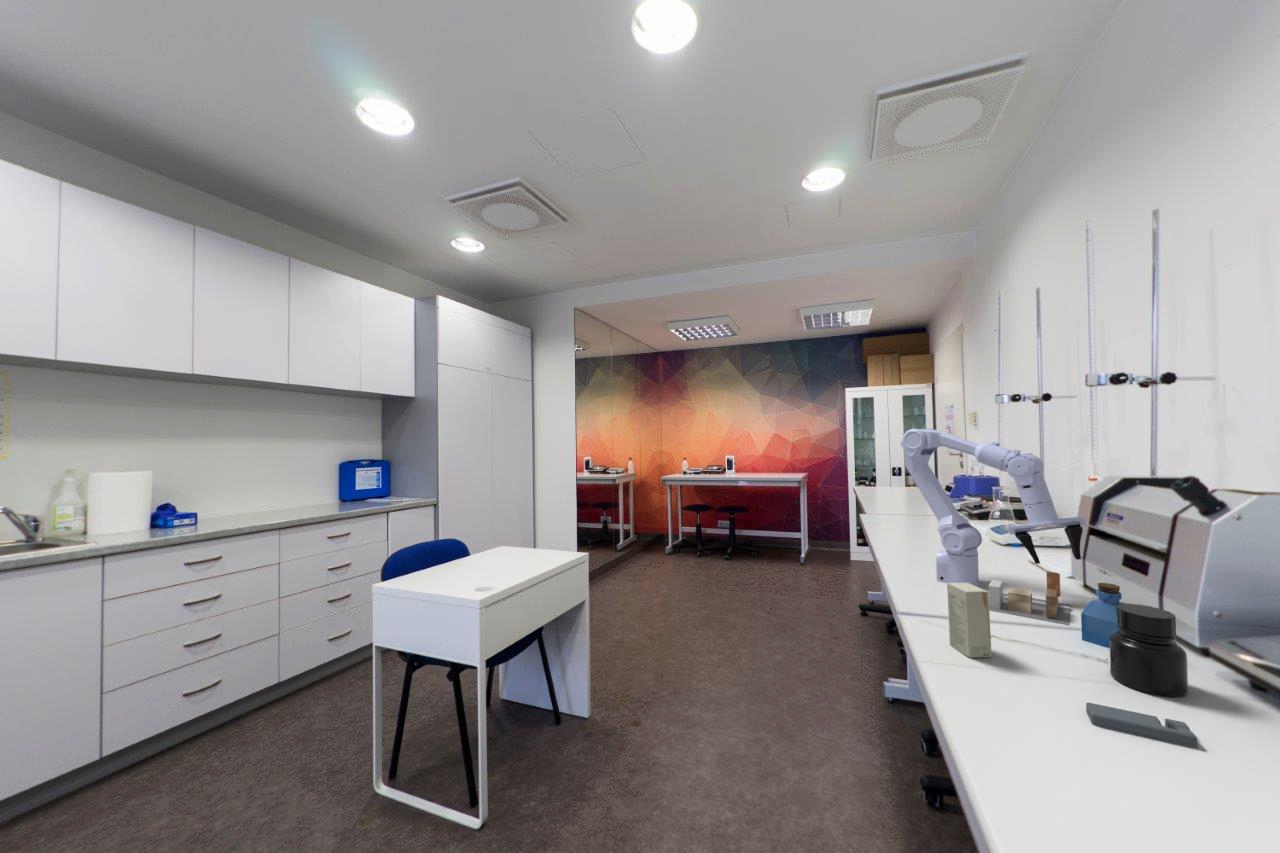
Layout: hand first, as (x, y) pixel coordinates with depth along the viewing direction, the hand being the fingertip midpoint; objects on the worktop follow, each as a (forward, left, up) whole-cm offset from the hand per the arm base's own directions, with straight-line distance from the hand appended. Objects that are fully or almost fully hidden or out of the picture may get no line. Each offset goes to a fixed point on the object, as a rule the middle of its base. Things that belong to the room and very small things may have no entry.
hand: (1057, 561), depth 115 cm
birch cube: (-6, -10, -10) cm, 15 cm away
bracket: (+10, -52, -12) cm, 55 cm away
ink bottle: (+12, -35, -11) cm, 39 cm away
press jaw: (-1, -6, -10) cm, 11 cm away
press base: (-5, -7, -11) cm, 14 cm away
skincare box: (-12, -39, -11) cm, 42 cm away
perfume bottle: (+8, -21, -11) cm, 25 cm away
